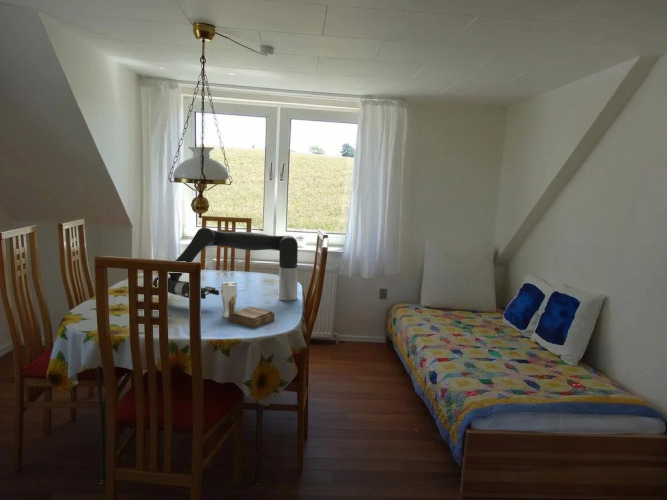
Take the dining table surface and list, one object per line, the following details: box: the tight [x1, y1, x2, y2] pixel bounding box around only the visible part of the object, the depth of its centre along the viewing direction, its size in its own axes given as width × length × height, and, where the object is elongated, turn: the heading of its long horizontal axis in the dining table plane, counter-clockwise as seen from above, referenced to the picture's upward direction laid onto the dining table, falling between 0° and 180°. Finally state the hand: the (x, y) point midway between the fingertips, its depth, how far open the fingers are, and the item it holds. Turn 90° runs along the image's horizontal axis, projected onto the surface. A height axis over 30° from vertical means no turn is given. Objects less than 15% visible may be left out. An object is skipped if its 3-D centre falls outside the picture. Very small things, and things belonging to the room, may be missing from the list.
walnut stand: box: [228, 306, 275, 329], centre depth 195 cm, size 14×14×4 cm
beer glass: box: [220, 281, 238, 319], centre depth 201 cm, size 7×7×15 cm
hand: (211, 294), depth 206 cm, fingers open, 8 cm apart
